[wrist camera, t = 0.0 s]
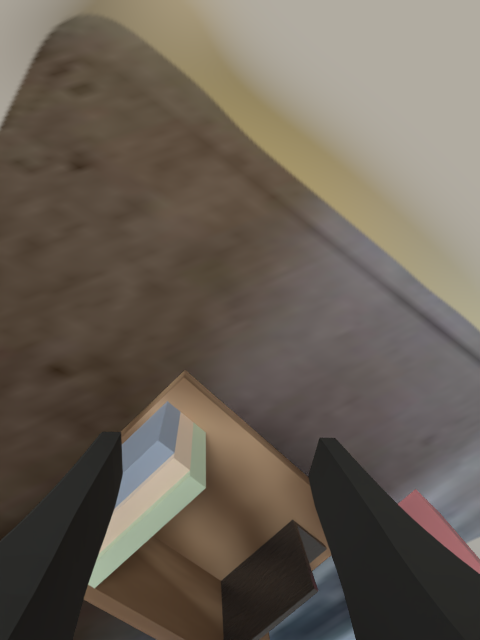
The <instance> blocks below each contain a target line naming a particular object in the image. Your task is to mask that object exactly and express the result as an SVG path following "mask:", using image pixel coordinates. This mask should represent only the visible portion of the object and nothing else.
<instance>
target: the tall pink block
mask: <svg viewBox="0 0 480 640" xmlns="http://www.w3.org/2000/svg"><path fill="white" fill-rule="evenodd" d="M398 505H399V506H400V507H401V508H402V509H403V510H404V511H405V512H406V513H407V514H408V515H410V516H411V517H412V518H413V519H414V520H415V521H416V522H417V523H418V524H419V525H420V526H422V527H423V528H424V529H425V530H426V531H427V532H429V533H430V534H431V535H432V536H433V537H434V538H436V539H437V540H438V541H439V542H440V543H441V544H443V545H444V546H445V547H446V548H447V549H449V550H450V551H451V552H452V553H454V554H455V555H456V556H457V557H459V558H460V559H461V560H462V561H464V562H465V563H466V564H468V565H469V566H470V567H471V568H473V569H474V570H475V571H477V572H478V573H479V574H480V559H479V558H478V557H477V556H476V554H475V553H474V552H473V551H472V550H471V549H470V548H469V546H468V545H467V544H466V543H465V542H464V541H463V539H462V538H461V537H460V536H459V535H458V534H457V532H456V531H455V530H454V529H453V528H452V527H451V525H450V524H449V523H448V522H447V521H446V520H445V519H444V517H443V516H442V515H441V514H440V513H439V512H438V511H437V510H436V509H435V508H434V507H433V506H432V505H431V504H430V503H429V502H428V501H427V500H426V499H425V498H424V497H423V496H422V495H421V494H420V493H419V492H418V491H417V490H416V489H415V490H414V491H413V492H412V493H411V494H409V495H408V496H407V497H406V498H405V499H403V500H402V501H401V502H400V503H398Z"/></svg>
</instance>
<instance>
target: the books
mask: <svg viewBox="0 0 480 640" xmlns="http://www.w3.org/2000/svg"><path fill="white" fill-rule="evenodd" d="M122 466H123V476H122V480H121V485H120V489H119V493H118V497H117V501H116V505H115V509H114V512H113V515H112V517H111V520H110V523H109V526H108V529H107V532H106V535H105V538H104V540H103V543H102V546H101V549H100V552H99V555H98V558H97V560H96V563H95V566H94V569H93V572H92V575H91V578H90V580H89V583H88V585H90V586H91V587H93V588H96V587H97V586H98V585H99V584H100V583H101V582H102V581H103V580H104V579H106V578H107V577H108V576H109V575H110V574H111V573H112V572H113V571H114V570H115V569H117V568H118V567H119V566H120V565H121V564H122V563H123V562H124V561H125V560H127V559H128V558H129V557H130V556H131V555H132V554H133V553H134V552H135V551H137V550H138V549H139V548H140V547H141V546H142V545H143V544H144V543H145V542H147V541H148V540H149V539H150V538H151V537H152V536H153V535H154V534H155V533H157V532H158V531H159V530H160V529H161V528H162V527H163V526H164V525H165V524H166V523H168V522H169V521H170V520H171V519H172V518H173V517H174V516H175V515H176V514H178V513H179V512H180V511H181V510H182V509H183V508H184V507H185V506H186V505H188V504H189V503H190V502H191V501H192V500H193V499H194V498H195V497H196V496H198V495H199V494H200V493H201V492H202V491H203V490H204V489H205V488H206V432H205V431H203V430H202V429H201V428H200V427H198V426H197V425H196V424H195V423H194V422H192V421H191V420H190V419H189V418H188V417H186V416H185V415H184V414H183V413H181V412H180V411H179V410H178V409H177V408H175V407H174V406H173V405H172V404H170V403H169V402H168V401H167V402H166V403H165V404H164V405H163V406H162V407H161V408H160V409H159V410H158V411H157V412H155V413H154V414H153V415H152V416H151V417H150V418H149V419H148V420H147V421H146V422H145V423H144V424H143V425H142V426H141V427H140V428H139V429H138V430H137V431H136V432H135V433H134V434H132V435H131V436H130V437H129V438H128V439H127V440H126V441H125V442H124V443H123V444H122Z"/></svg>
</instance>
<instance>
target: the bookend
mask: <svg viewBox="0 0 480 640" xmlns="http://www.w3.org/2000/svg"><path fill="white" fill-rule="evenodd" d="M326 549H327V548H326V546H325V545H324V544H323V543H322V542H320V541H319V540H318V539H317V538H315V537H314V536H313V535H312V534H310V533H309V532H308V531H307V530H305V529H304V528H303V527H302V526H300V525H299V524H298V523H297V522H295V521H294V520H291V521H290V522H289V523H288V524H287V525H286V526H284V527H283V528H282V529H281V530H280V531H279V532H277V533H276V534H275V535H274V536H273V537H272V538H270V539H269V540H268V541H267V542H266V543H265V544H263V545H262V546H261V547H260V548H259V549H258V550H256V551H255V552H254V553H253V554H252V555H251V556H249V557H248V558H247V559H246V560H245V561H244V562H242V563H241V564H240V565H239V566H238V567H237V568H235V569H234V570H233V571H232V572H231V573H229V574H228V575H227V576H226V577H225V578H224V579H222V580H221V594H222V616H223V638H224V640H259V639H261V638H262V637H263V636H264V635H266V634H267V633H268V632H269V631H271V630H272V629H273V628H274V627H275V626H277V625H278V624H279V623H280V622H282V621H283V620H284V619H285V618H286V617H288V616H289V615H290V614H291V613H293V612H294V611H295V610H296V609H297V608H299V607H300V606H301V605H302V604H304V603H305V602H306V601H307V600H309V599H310V598H311V597H312V596H313V595H315V594H316V593H317V592H318V589H317V585H316V582H315V579H314V576H313V573H312V570H311V567H310V563H311V562H312V561H313V560H314V559H316V558H317V557H318V556H319V555H320V554H322V553H323V552H324V551H325V550H326Z"/></svg>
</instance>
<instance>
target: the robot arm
mask: <svg viewBox="0 0 480 640" xmlns="http://www.w3.org/2000/svg"><path fill="white" fill-rule="evenodd" d="M122 476H123V466H122V440H121V432H102V433H101V434H99V436H98V437H97V438H96V440H95V441H94V442H93V443H92V445H91V446H90V447H89V448H88V449H87V451H86V452H85V453H84V454H83V456H82V457H81V458H80V459H79V460H78V461H77V463H76V464H75V465H74V466H73V467H72V468H71V469H70V471H69V472H68V473H67V474H66V475H65V476H64V477H63V478H62V480H61V481H60V482H59V483H58V484H57V485H56V486H55V487H54V488H53V489H52V491H51V492H50V493H49V494H48V495H47V496H46V497H45V498H44V499H43V500H42V501H41V502H40V503H39V504H38V505H37V506H36V507H35V508H34V509H33V510H32V511H31V512H30V513H29V514H28V515H27V516H26V517H25V518H24V519H23V520H22V521H21V522H20V523H19V524H18V525H17V526H16V527H15V528H14V529H13V530H12V531H11V532H9V533H8V534H7V535H6V536H5V537H4V538H3V539H2V540H1V541H0V640H73V636H74V632H75V628H76V625H77V621H78V617H79V613H80V610H81V606H82V602H83V599H84V596H85V593H86V590H87V586H88V583H89V580H90V578H91V575H92V572H93V569H94V566H95V563H96V560H97V558H98V555H99V552H100V549H101V546H102V543H103V540H104V538H105V535H106V532H107V529H108V526H109V523H110V520H111V517H112V515H113V512H114V509H115V505H116V501H117V497H118V493H119V489H120V485H121V480H122ZM308 478H309V482H310V487H311V492H312V496H313V500H314V505H315V508H316V511H317V514H318V517H319V520H320V523H321V526H322V529H323V532H324V535H325V537H326V540H327V543H328V546H329V549H330V552H331V555H332V558H333V561H334V563H335V566H336V569H337V572H338V575H339V578H340V581H341V585H342V588H343V591H344V595H345V599H346V602H347V606H348V610H349V614H350V618H351V622H352V626H353V630H354V634H355V638H356V640H480V574H479V573H478V572H477V571H475V570H474V569H473V568H471V567H470V566H469V565H468V564H466V563H465V562H464V561H462V560H461V559H460V558H459V557H457V556H456V555H455V554H454V553H452V552H451V551H450V550H449V549H447V548H446V547H445V546H444V545H443V544H441V543H440V542H439V541H438V540H437V539H436V538H434V537H433V536H432V535H431V534H430V533H429V532H427V531H426V530H425V529H424V528H423V527H422V526H420V525H419V524H418V523H417V522H416V521H415V520H414V519H413V518H412V517H411V516H410V515H408V514H407V513H406V512H405V511H404V510H403V509H402V508H401V507H400V506H399V505H398V504H397V503H396V502H395V501H394V500H393V499H392V498H391V497H390V496H389V495H388V494H387V493H386V492H385V491H384V490H383V489H382V488H381V487H380V486H379V485H378V484H377V483H376V482H375V481H374V480H373V479H372V478H371V477H370V475H369V474H368V473H367V472H366V471H365V470H364V469H363V468H362V467H361V466H360V465H359V464H358V462H357V461H356V460H355V459H354V458H353V457H352V456H351V455H350V454H349V453H348V452H347V450H346V449H345V448H344V447H343V446H342V445H341V444H340V443H339V442H338V441H337V440H336V439H335V438H320V439H319V442H318V445H317V449H316V452H315V456H314V459H313V462H312V466H311V469H310V472H309V476H308Z"/></svg>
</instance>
